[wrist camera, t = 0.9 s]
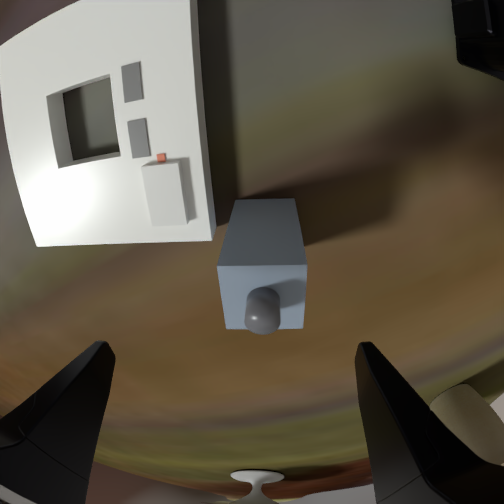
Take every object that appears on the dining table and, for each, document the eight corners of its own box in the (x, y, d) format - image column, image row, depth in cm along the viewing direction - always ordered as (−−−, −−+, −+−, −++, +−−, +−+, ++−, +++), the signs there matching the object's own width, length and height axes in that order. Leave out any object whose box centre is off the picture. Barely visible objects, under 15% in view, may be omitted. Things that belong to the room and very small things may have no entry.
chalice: (215, 468, 51) (208, 526, 38) (277, 465, 48) (275, 529, 35) (241, 482, 58) (237, 532, 45) (295, 479, 54) (295, 532, 42)
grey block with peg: (294, 198, 20) (310, 285, 12) (293, 249, 22) (304, 350, 14) (235, 199, 20) (211, 286, 12) (239, 250, 22) (222, 350, 14)
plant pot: (492, 352, 28) (533, 444, 15) (484, 394, 35) (509, 466, 21) (400, 398, 33) (423, 501, 19) (410, 429, 39) (426, 505, 26)
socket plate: (196, -24, 12) (185, -37, 10) (216, 227, 21) (210, 245, 19) (14, 46, 13) (-7, 47, 11) (49, 235, 22) (33, 250, 20)
